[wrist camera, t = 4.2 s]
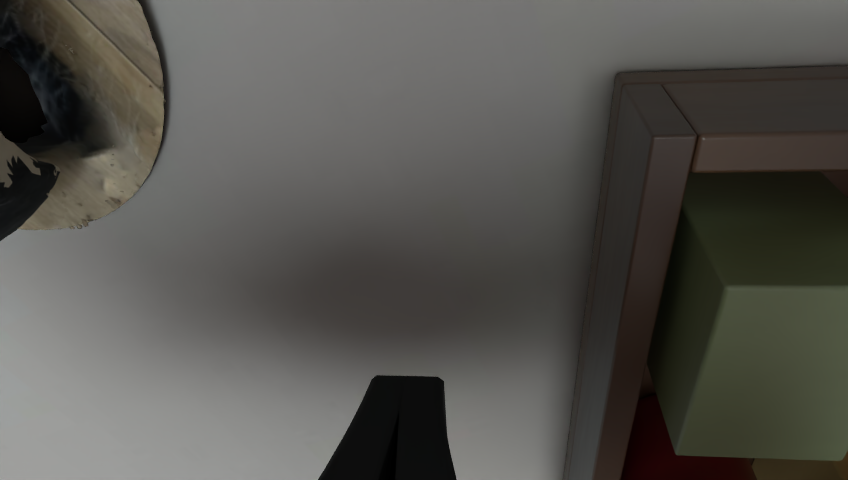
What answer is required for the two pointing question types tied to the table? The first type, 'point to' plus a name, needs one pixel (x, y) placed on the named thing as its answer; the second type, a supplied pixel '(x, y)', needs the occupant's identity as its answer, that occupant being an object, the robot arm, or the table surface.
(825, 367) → the tray of colored blocks
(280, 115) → the table surface
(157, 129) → the figurine
